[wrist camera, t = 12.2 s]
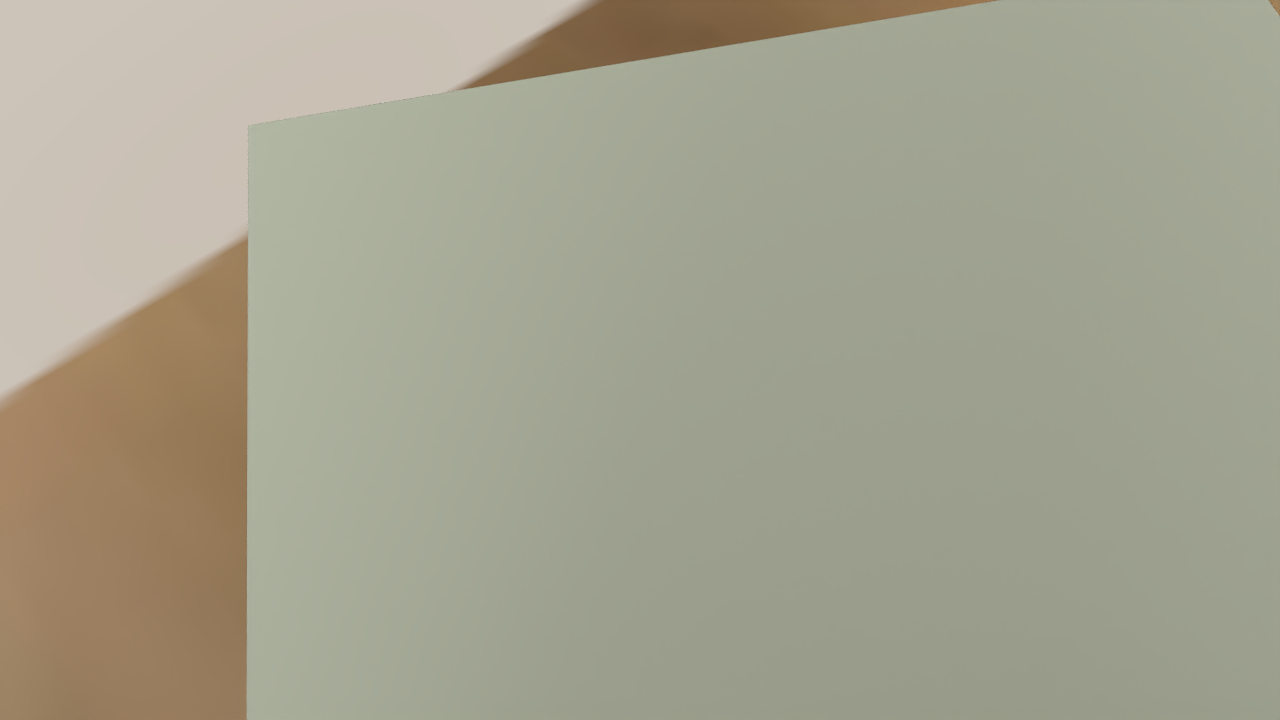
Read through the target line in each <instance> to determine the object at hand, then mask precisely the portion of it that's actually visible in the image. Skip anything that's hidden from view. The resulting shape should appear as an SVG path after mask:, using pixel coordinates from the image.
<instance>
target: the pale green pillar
mask: <svg viewBox="0 0 1280 720" xmlns="http://www.w3.org/2000/svg"><path fill="white" fill-rule="evenodd" d="M247 720H1280V16H1279V15H1278V13H1277V12H1276V10H1275V9H1274V8H1273V6H1272V5H1271V3H1270V2H1269V1H1268V0H998V1H992V2H986V3H980V4H974V5H968V6H962V7H956V8H950V9H944V10H938V11H932V12H926V13H920V14H914V15H908V16H902V17H896V18H890V19H884V20H878V21H872V22H866V23H860V24H854V25H848V26H842V27H836V28H830V29H824V30H818V31H812V32H806V33H800V34H794V35H788V36H782V37H776V38H770V39H764V40H758V41H752V42H746V43H740V44H734V45H728V46H722V47H716V48H710V49H704V50H698V51H692V52H686V53H680V54H674V55H668V56H662V57H656V58H650V59H644V60H638V61H632V62H626V63H620V64H614V65H608V66H602V67H596V68H590V69H584V70H578V71H572V72H566V73H560V74H554V75H548V76H542V77H536V78H530V79H524V80H518V81H512V82H506V83H500V84H494V85H488V86H482V87H476V88H470V89H464V90H458V91H452V92H446V93H440V94H434V95H428V96H422V97H416V98H410V99H404V100H398V101H392V102H386V103H380V104H374V105H368V106H362V107H356V108H350V109H344V110H338V111H332V112H326V113H320V114H314V115H308V116H302V117H296V118H290V119H284V120H278V121H272V122H266V123H260V124H254V125H249V126H248V451H247Z"/></svg>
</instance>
